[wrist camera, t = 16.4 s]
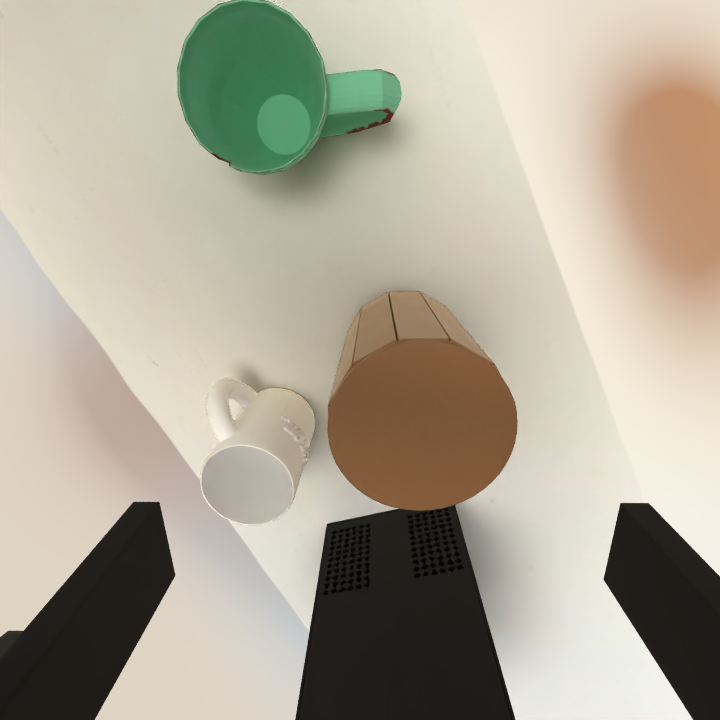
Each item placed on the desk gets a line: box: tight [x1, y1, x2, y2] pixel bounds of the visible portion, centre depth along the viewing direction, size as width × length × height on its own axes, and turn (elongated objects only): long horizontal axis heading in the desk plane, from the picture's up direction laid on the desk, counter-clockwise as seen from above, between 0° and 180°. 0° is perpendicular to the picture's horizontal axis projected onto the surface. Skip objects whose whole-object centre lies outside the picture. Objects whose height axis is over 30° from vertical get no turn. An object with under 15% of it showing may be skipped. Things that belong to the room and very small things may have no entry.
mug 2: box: [200, 378, 315, 525], centre depth 39 cm, size 8×12×12 cm
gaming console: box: [295, 505, 515, 720], centre depth 36 cm, size 15×15×30 cm
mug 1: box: [177, 0, 401, 175], centre depth 31 cm, size 15×10×10 cm
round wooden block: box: [328, 291, 517, 511], centre depth 30 cm, size 10×10×16 cm
